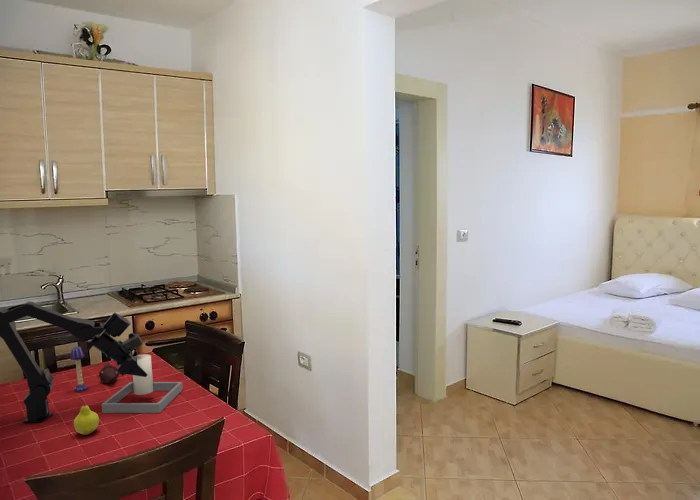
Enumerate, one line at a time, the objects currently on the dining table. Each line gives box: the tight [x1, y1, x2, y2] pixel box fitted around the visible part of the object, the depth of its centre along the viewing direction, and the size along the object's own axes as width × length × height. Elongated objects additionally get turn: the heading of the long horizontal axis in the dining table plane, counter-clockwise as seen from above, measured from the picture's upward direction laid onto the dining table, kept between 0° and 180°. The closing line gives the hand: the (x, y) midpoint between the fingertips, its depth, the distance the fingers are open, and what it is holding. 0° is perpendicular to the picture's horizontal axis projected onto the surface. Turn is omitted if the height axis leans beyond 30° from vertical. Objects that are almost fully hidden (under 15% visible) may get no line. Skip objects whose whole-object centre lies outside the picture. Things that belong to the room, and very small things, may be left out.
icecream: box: [98, 363, 120, 384], centre depth 204 cm, size 7×7×15 cm
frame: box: [101, 381, 184, 414], centre depth 185 cm, size 20×20×3 cm
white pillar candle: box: [132, 354, 154, 396], centre depth 184 cm, size 6×6×12 cm
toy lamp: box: [69, 346, 88, 393], centre depth 196 cm, size 5×5×17 cm
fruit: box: [73, 397, 100, 436], centre depth 161 cm, size 7×7×12 cm
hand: (146, 372), depth 185 cm, fingers closed on white pillar candle, 6 cm apart
